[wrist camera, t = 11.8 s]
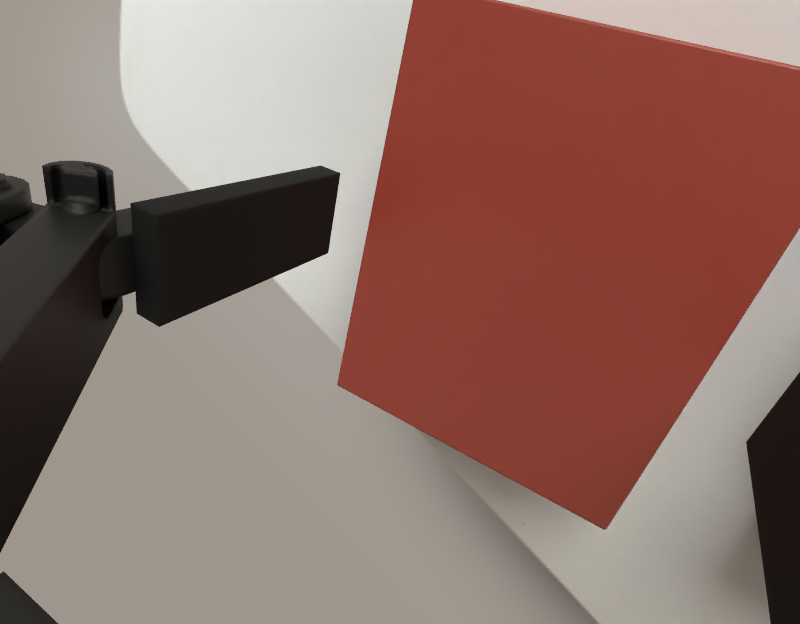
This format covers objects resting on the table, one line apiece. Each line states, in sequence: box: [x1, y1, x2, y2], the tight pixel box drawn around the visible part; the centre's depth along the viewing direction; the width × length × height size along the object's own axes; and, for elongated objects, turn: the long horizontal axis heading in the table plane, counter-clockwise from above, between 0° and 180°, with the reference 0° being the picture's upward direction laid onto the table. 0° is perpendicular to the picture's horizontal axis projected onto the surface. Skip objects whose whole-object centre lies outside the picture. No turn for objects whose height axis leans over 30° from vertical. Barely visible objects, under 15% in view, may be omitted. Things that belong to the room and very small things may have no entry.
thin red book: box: [338, 0, 800, 530], centre depth 16 cm, size 14×11×2 cm
